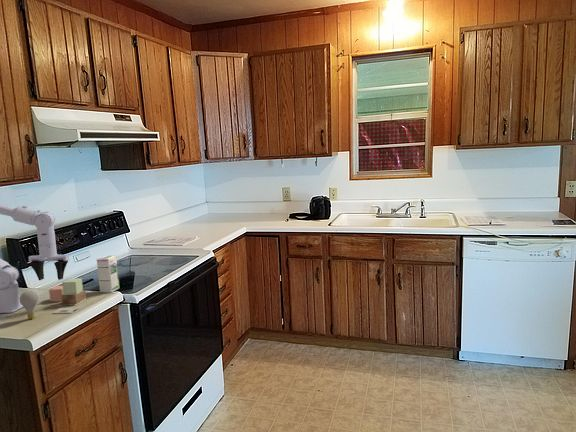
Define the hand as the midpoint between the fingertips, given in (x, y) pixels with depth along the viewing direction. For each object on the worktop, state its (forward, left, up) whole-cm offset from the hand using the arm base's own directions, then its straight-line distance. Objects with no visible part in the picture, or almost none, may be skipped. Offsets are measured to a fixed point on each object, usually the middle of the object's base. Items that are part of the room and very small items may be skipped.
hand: (51, 279), depth 160 cm
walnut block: (+7, +2, -10) cm, 13 cm away
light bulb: (+1, -15, -10) cm, 18 cm away
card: (+10, -8, -10) cm, 16 cm away
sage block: (+7, +2, -6) cm, 9 cm away
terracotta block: (-1, +6, -10) cm, 12 cm away
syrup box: (+14, +17, -10) cm, 24 cm away
